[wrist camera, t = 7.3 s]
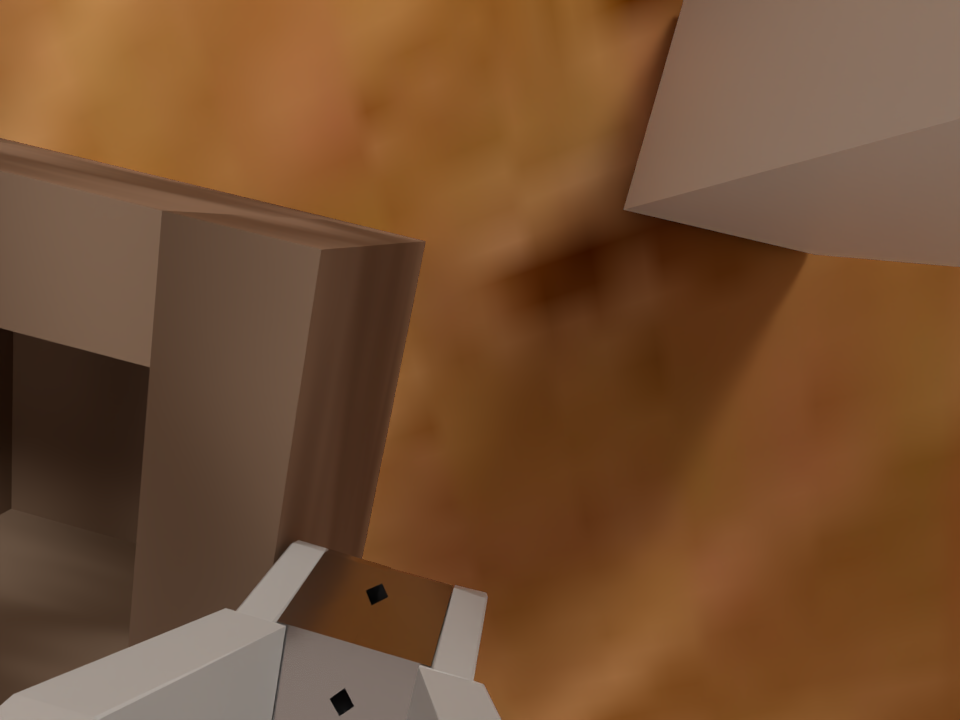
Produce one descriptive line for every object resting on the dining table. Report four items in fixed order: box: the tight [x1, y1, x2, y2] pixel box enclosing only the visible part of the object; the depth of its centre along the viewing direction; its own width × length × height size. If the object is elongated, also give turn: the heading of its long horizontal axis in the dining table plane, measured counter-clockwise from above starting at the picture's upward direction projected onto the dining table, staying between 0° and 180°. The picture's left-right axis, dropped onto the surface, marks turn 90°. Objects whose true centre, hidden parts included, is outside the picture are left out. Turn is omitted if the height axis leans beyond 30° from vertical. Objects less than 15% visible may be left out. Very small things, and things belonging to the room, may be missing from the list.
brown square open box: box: [0, 138, 426, 705], centre depth 11 cm, size 11×11×6 cm
